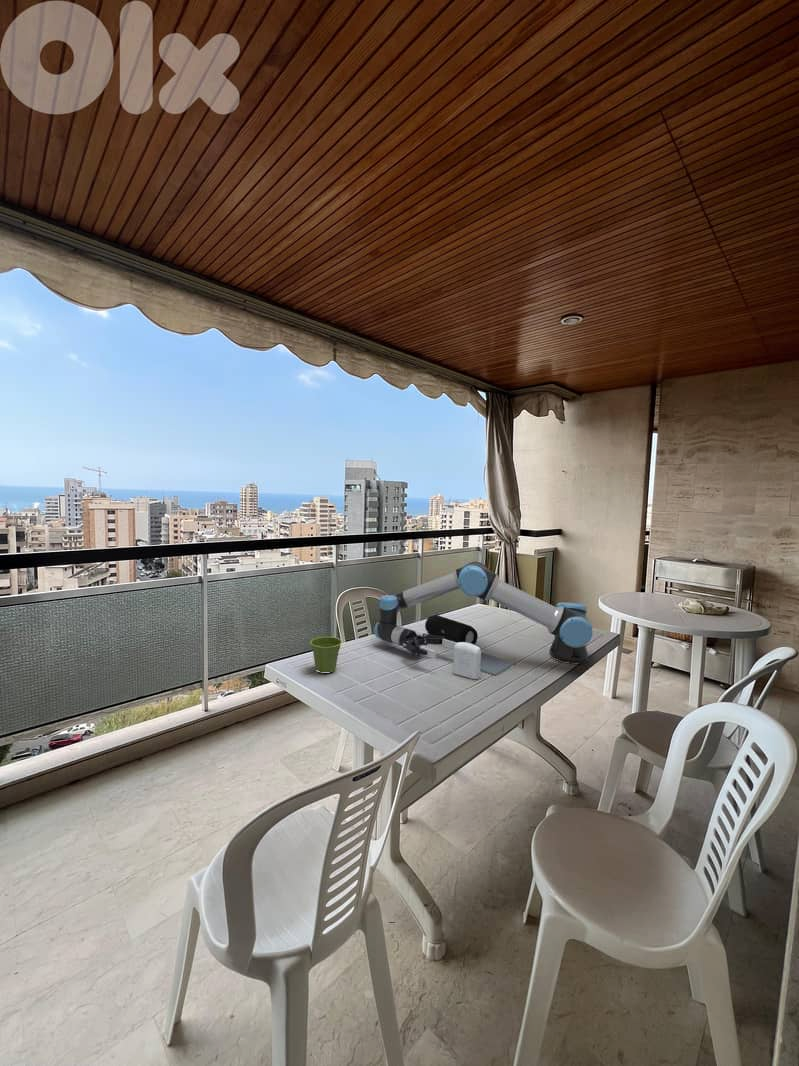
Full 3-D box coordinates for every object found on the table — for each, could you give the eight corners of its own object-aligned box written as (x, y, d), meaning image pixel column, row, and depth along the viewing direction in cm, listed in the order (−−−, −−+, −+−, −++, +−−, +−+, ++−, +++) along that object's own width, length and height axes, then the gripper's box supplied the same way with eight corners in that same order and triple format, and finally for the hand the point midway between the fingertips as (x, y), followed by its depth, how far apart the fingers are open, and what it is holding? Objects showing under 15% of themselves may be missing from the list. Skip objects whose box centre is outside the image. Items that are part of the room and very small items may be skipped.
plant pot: (325, 680, 155) (325, 649, 154) (303, 671, 162) (303, 642, 161) (348, 670, 165) (348, 640, 164) (326, 662, 172) (326, 634, 171)
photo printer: (481, 677, 161) (483, 644, 160) (477, 681, 157) (478, 647, 156) (456, 670, 166) (457, 638, 165) (451, 674, 163) (452, 641, 162)
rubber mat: (515, 664, 173) (515, 662, 173) (495, 676, 162) (495, 674, 162) (481, 654, 184) (481, 652, 184) (459, 664, 172) (459, 662, 172)
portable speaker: (423, 636, 207) (423, 615, 206) (438, 632, 213) (439, 612, 212) (463, 651, 187) (464, 629, 186) (478, 647, 193) (479, 625, 192)
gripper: (423, 639, 192) (463, 651, 177) (383, 653, 173) (425, 668, 159) (423, 622, 191) (464, 633, 177) (383, 635, 172) (425, 648, 158)
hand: (445, 650), depth 168 cm, fingers open, 13 cm apart
